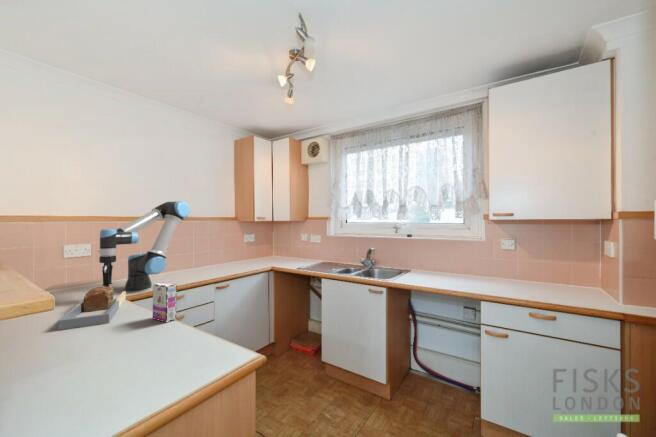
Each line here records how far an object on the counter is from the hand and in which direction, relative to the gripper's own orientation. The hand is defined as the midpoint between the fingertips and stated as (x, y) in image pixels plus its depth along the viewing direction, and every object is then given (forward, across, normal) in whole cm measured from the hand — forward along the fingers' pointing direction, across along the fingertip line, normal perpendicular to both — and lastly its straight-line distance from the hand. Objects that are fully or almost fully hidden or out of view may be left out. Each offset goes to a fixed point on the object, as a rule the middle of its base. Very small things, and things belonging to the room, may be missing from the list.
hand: (107, 296), depth 157 cm
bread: (+3, +12, -1) cm, 12 cm away
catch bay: (+2, +22, +1) cm, 22 cm away
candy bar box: (+2, +52, +31) cm, 60 cm away
